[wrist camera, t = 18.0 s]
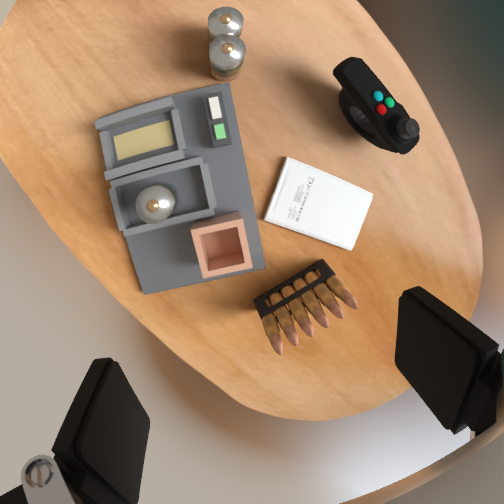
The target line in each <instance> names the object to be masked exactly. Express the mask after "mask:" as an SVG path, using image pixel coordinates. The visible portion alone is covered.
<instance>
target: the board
mask: <svg viewBox="0 0 504 504" xmlns="http://www.w3.org/2000/svg"><path fill="white" fill-rule="evenodd" d="M94 122H95V128H96V130H100V131H101V132H99V133H100V139H101V144H102V150H103V155H104V160H105V165H106V169H107V171H105V172H104V175H105V180H111V181H110V184H111V189H109V194H110V198H111V202H112V206H113V210H114V213H115V217H116V221H117V225H118V228H119V231H123V234H124V237H126V241H127V244H128V247H129V251H130V254H131V257H132V260H133V264H134V267H135V270H136V273H137V276H138V279H139V282H140V285H141V288H142V291H143V294H144V295H145V294H150V293H155V292H160V291H164V290H169V289H174V288H179V287H184V286H188V285H193V284H198V283H202V282H207V281H212V280H216V279H221V278H225V277H230V276H234V275H239V274H243V273H248V272H252V271H257V270H261V269H266V266H265V260H264V255H263V250H262V245H261V240H260V234H259V229H258V224H257V219H256V214H255V209H254V204H253V199H252V193H251V188H250V183H249V178H248V173H247V168H246V163H245V158H244V153H243V148H242V143H241V138H240V133H239V129H238V124H237V119H236V114H235V109H234V104H233V99H232V94H231V90H230V85H229V83H224V84H219V85H214V86H209V87H204V88H199V89H195V90H190V91H186V92H182V93H178V94H174V95H170V96H166V97H162V98H159V99H155V100H152V101H148V102H145V103H142V104H138V105H135V106H132V107H129V108H126V109H123V110H120V111H117V112H114V113H111V114H108V115H106V116H103V117H100V118H99V120H96V121H94ZM160 183H170V184H172V185H174V186H175V187H176V188H177V190H178V192H179V195H180V200H179V204H178V206H177V207H176V208H175V210H174V211H173V212H172V213H171V214H170V216H169V217H168V218H167V219H166V220H164V221H163V222H161V223H158V224H149V223H146V222H144V221H143V220H142V219H141V218H140V217H139V216H138V214H137V211H136V199H137V197H138V195H139V194H140V193H141V192H142V191H143V190H144V189H146V188H148V187H151V186H153V185H156V184H160ZM238 211H239V212H240V214H241V216H242V218H243V222H244V227H245V232H246V237H247V242H248V247H249V252H250V256H251V261H252V266H253V268H249V269H245V270H240V271H236V272H231V273H227V274H222V275H218V276H213V277H208V278H204V279H203V276H202V272H201V268H200V265H199V261H198V257H197V253H196V249H195V245H194V241H193V237H192V233H191V228H192V226H193V223H194V221H197V220H202V219H206V218H210V217H215V216H219V215H224V214H228V213H233V212H238Z"/></svg>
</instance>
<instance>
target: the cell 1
mask: <svg viewBox="0 0 504 504" xmlns="http://www.w3.org/2000/svg"><path fill="white" fill-rule="evenodd" d="M179 200H180V195H179V192H178V190H177V188H176V187H175V186H174V185H172V184H170V183H160V184H156V185H153V186H151V187H148V188H146V189H144V190H143V191H142V192H141V193H140V194H139V195H138V197H137V199H136V211H137V214H138V216H139V217H140V218H141V219H142V220H143V221H144V222H146V223H149V224H158V223H161V222H163V221H164V220H166V219H167V218H168V217H169V216H170V214H171V213H172V212H173V211H174V210H175V208H176V207H177V206H178V204H179Z"/></svg>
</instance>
